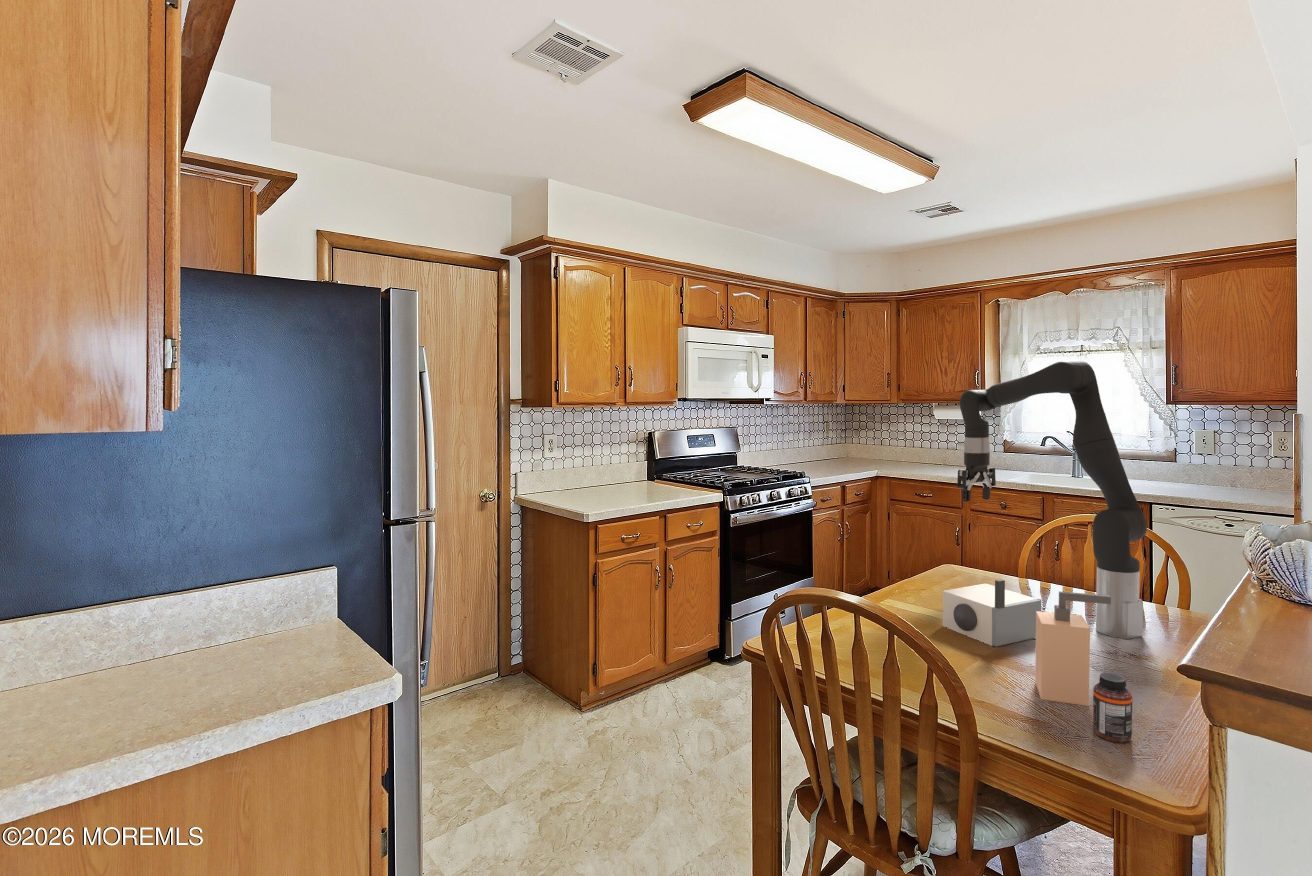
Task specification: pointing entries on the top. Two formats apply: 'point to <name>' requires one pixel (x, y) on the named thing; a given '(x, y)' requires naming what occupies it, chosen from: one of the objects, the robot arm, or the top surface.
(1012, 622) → the side door
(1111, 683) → the supplement bottle
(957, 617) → the camera box
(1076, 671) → the soap dispenser
